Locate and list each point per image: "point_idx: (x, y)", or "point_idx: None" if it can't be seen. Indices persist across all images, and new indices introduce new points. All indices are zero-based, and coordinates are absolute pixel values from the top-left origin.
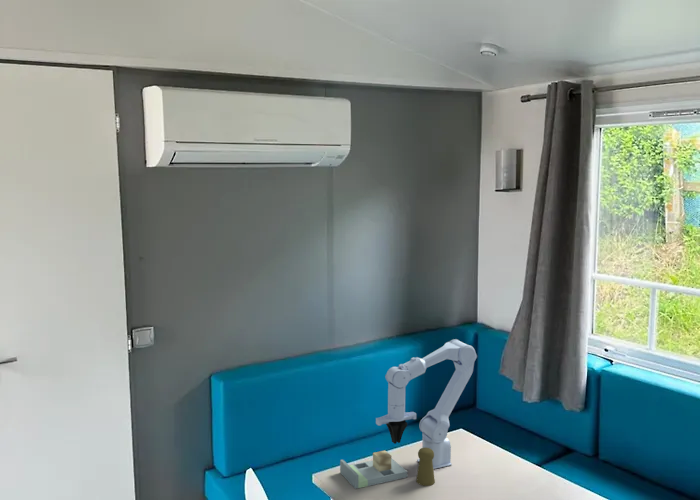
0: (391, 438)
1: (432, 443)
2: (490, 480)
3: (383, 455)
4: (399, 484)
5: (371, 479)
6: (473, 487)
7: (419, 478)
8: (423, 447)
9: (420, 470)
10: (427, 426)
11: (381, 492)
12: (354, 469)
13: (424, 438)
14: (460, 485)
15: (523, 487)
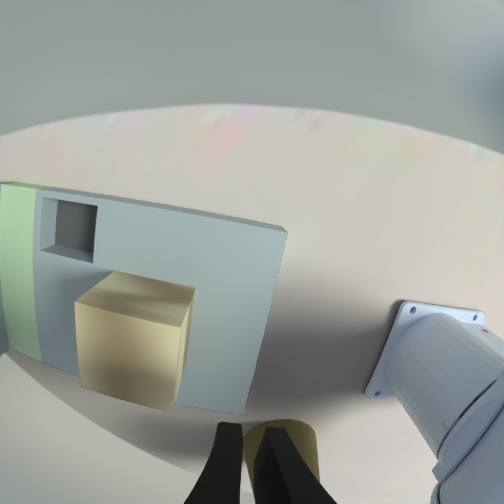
0: (214, 444)
1: (432, 471)
2: (417, 475)
3: (124, 378)
4: (173, 414)
5: (56, 367)
6: (358, 492)
7: (246, 461)
8: (430, 399)
9: (252, 486)
10: (500, 495)
11: (84, 407)
12: (24, 244)
13: (463, 429)
14: (344, 482)
15: (422, 498)
